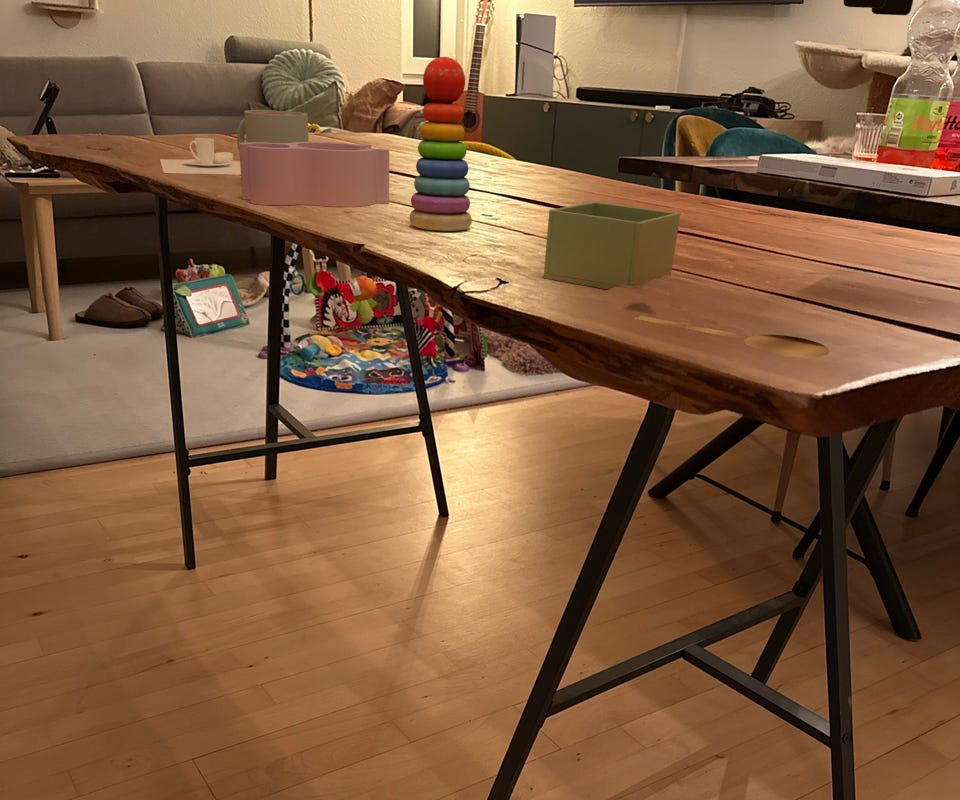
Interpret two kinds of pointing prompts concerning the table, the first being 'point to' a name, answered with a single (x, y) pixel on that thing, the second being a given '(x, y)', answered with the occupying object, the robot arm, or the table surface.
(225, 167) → the teacup and saucer
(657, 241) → the open top crate
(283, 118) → the mug
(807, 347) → the spoon
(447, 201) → the stacking toy
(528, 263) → the table surface
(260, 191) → the pink twin-well planter
